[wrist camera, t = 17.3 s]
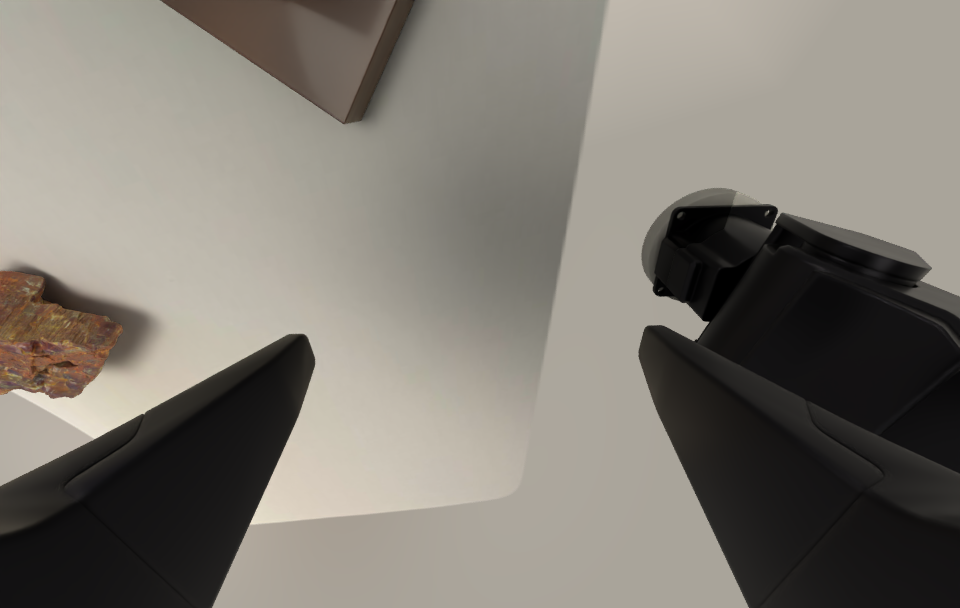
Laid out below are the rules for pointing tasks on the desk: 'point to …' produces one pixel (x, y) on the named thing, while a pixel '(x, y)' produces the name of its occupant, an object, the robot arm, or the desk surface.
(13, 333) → the mineral specimen
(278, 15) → the brown lipped tray
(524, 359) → the desk surface
